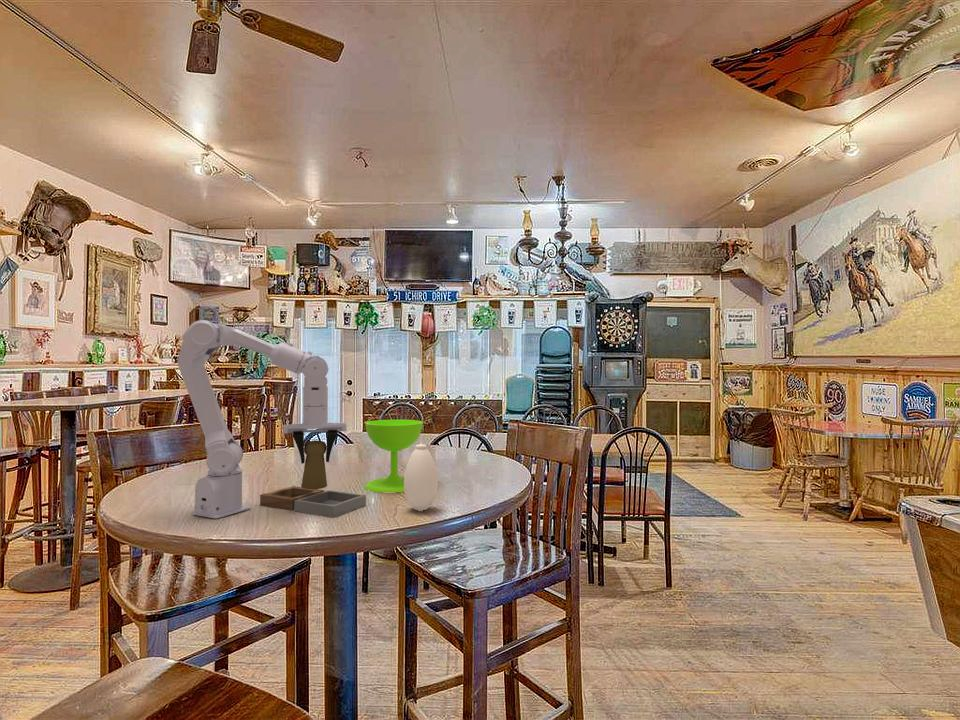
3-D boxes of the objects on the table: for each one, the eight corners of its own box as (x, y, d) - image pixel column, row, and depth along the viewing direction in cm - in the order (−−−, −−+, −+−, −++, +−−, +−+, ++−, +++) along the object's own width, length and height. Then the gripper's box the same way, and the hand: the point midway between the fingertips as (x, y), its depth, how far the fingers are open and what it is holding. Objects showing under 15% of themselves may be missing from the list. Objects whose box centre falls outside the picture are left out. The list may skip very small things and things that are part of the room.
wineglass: (358, 492, 143) (358, 425, 143) (372, 480, 159) (372, 419, 159) (417, 493, 142) (418, 425, 142) (426, 480, 158) (426, 419, 158)
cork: (324, 489, 127) (325, 443, 127) (298, 489, 126) (299, 443, 126) (329, 483, 133) (330, 439, 133) (304, 482, 132) (305, 438, 132)
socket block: (292, 510, 125) (293, 499, 125) (260, 505, 129) (260, 494, 129) (324, 500, 134) (324, 490, 134) (292, 495, 139) (292, 486, 139)
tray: (333, 517, 119) (333, 506, 119) (294, 511, 124) (294, 500, 124) (365, 505, 130) (366, 495, 130) (328, 500, 135) (328, 490, 135)
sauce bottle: (444, 508, 127) (444, 432, 127) (424, 516, 120) (424, 436, 120) (417, 504, 131) (418, 430, 131) (397, 511, 124) (397, 434, 124)
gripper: (345, 404, 135) (345, 457, 135) (284, 405, 131) (284, 460, 131) (347, 406, 129) (346, 462, 128) (282, 407, 124) (282, 466, 124)
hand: (315, 462), depth 129 cm, fingers closed on cork, 5 cm apart
